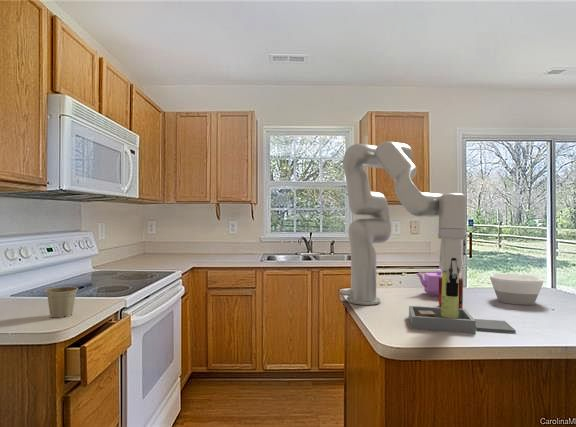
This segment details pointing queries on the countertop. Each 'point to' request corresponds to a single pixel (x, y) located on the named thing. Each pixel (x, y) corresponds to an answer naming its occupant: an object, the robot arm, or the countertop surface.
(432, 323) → the bin
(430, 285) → the teapot
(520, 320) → the countertop surface
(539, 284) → the bowl
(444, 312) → the tube
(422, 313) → the walnut block
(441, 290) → the canned food
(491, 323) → the trivet
